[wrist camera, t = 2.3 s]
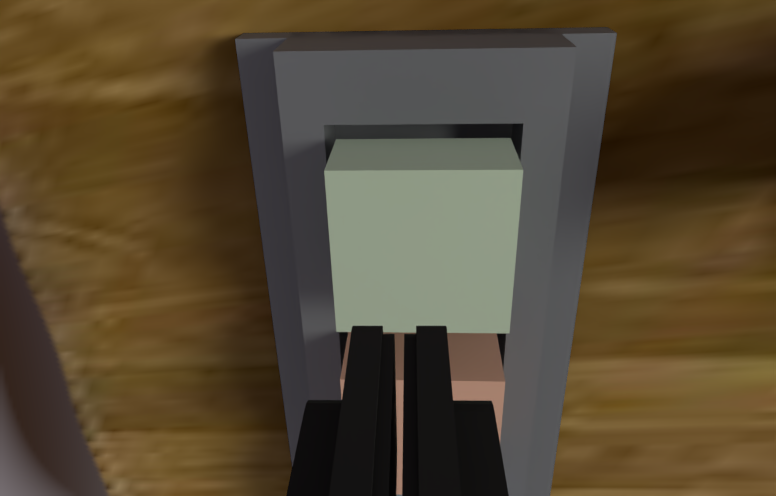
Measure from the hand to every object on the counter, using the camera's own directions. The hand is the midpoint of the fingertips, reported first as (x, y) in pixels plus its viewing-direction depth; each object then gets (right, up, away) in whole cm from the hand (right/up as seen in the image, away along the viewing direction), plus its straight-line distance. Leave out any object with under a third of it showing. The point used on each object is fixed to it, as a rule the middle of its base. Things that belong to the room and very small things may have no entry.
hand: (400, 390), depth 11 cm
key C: (+1, +3, +7) cm, 8 cm away
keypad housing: (+1, -4, +14) cm, 15 cm away
